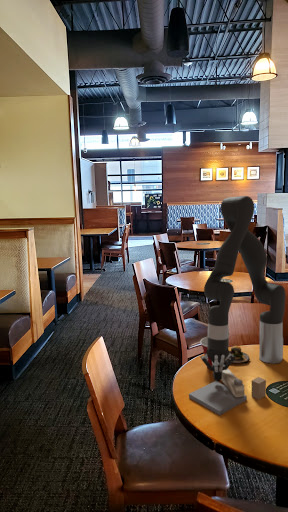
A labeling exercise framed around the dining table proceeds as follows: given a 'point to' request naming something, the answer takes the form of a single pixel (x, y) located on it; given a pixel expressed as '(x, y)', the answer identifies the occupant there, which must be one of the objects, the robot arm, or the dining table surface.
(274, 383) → the dining table surface
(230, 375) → the folding leg
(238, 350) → the burger
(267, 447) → the dining table surface
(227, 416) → the dining table surface
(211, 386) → the grey slab beige block
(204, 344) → the plastic cup
